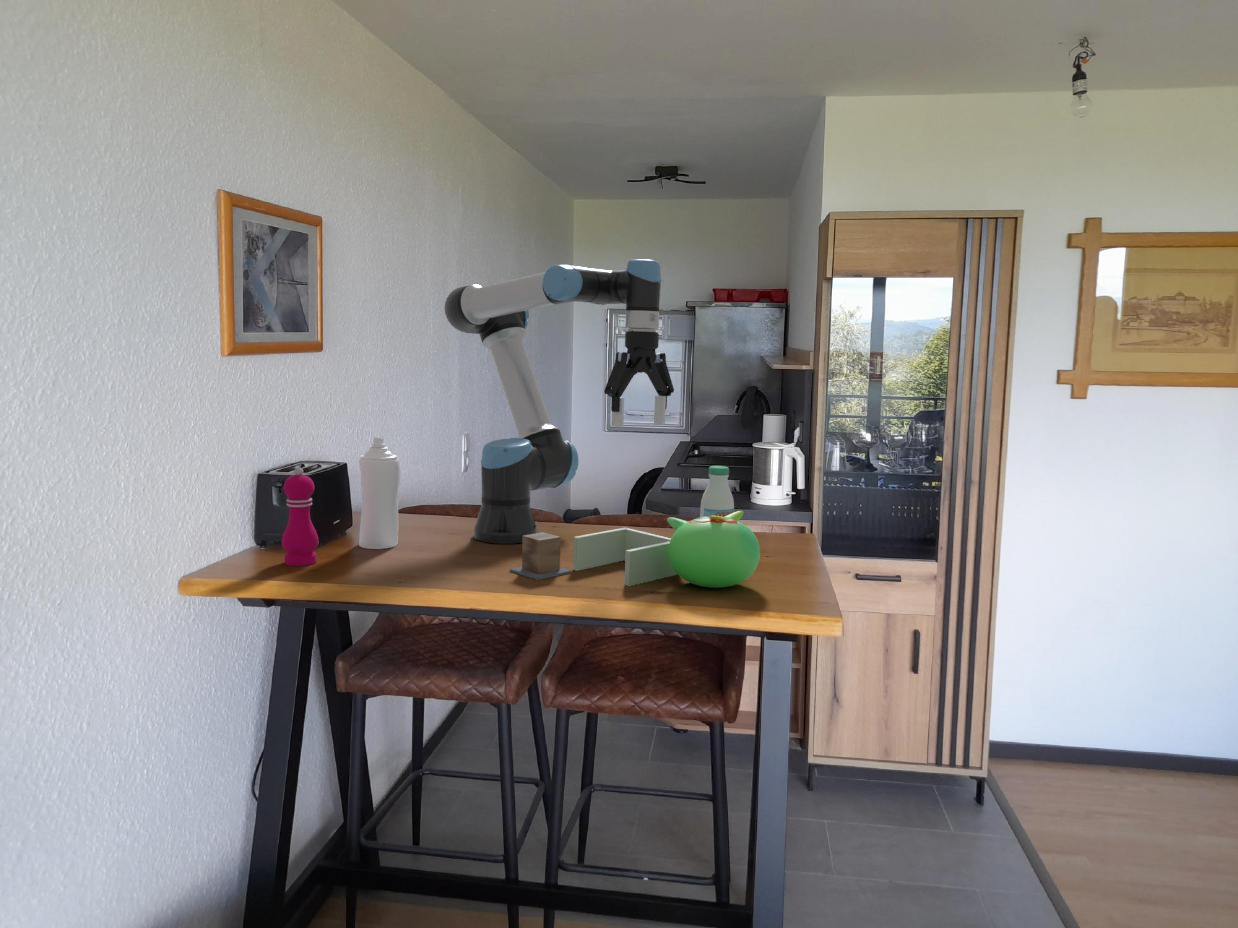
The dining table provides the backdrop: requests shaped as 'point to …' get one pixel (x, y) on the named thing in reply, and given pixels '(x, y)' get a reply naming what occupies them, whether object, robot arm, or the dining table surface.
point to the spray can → (379, 497)
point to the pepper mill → (299, 521)
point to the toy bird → (713, 550)
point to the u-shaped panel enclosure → (625, 553)
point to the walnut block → (541, 553)
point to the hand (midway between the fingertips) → (639, 425)
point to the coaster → (540, 576)
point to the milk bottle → (717, 494)
